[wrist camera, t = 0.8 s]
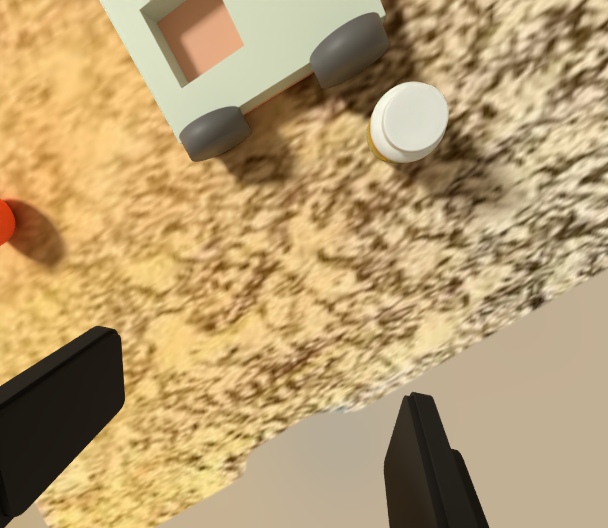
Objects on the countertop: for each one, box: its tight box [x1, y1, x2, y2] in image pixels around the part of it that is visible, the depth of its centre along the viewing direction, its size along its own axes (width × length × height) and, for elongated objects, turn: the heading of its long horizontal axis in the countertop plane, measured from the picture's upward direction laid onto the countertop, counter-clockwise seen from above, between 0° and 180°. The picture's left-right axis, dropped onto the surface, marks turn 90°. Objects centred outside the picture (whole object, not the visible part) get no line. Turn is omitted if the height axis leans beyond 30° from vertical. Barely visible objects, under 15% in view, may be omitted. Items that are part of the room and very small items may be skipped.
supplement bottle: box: [367, 82, 449, 163], centre depth 24 cm, size 5×5×10 cm
